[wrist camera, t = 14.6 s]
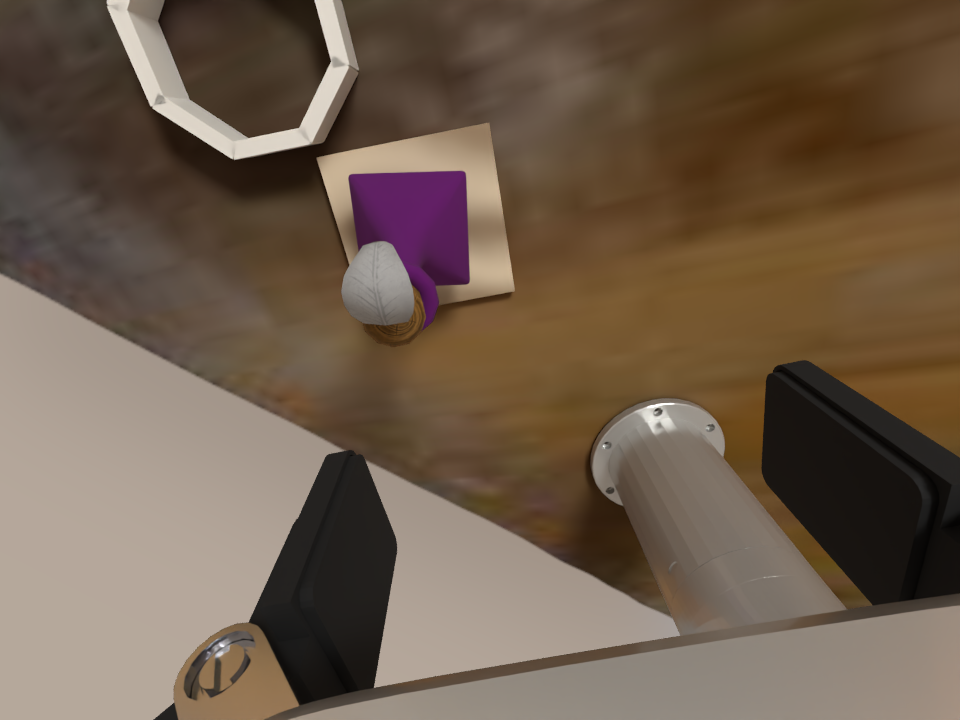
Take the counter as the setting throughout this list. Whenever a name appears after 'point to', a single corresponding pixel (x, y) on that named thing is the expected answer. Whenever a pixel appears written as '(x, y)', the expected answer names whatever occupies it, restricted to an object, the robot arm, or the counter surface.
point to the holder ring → (140, 32)
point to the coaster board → (426, 155)
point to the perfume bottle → (405, 249)
